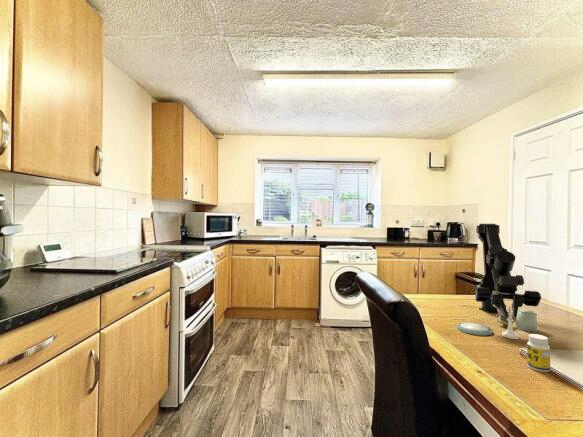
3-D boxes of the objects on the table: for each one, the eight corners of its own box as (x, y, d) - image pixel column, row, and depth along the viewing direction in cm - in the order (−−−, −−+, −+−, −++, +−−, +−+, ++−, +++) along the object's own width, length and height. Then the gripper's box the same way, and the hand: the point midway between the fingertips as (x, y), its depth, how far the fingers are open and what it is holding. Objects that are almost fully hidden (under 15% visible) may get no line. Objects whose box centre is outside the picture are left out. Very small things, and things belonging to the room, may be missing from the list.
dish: (450, 325, 115) (450, 322, 115) (477, 324, 116) (477, 321, 116) (471, 336, 104) (471, 332, 104) (500, 335, 105) (500, 331, 106)
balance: (492, 314, 129) (492, 301, 129) (505, 316, 127) (505, 303, 127) (497, 326, 114) (497, 311, 114) (512, 328, 112) (512, 313, 112)
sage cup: (512, 326, 114) (511, 308, 114) (526, 325, 115) (526, 308, 115) (526, 332, 108) (525, 313, 109) (541, 331, 109) (541, 312, 109)
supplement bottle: (522, 364, 83) (522, 333, 83) (538, 363, 84) (538, 332, 84) (538, 373, 78) (537, 340, 79) (555, 372, 79) (554, 339, 79)
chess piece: (516, 334, 106) (515, 305, 106) (521, 339, 101) (521, 309, 101) (499, 333, 107) (499, 304, 108) (504, 337, 103) (503, 308, 103)
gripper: (476, 265, 112) (482, 302, 102) (538, 267, 105) (552, 308, 94) (473, 282, 119) (478, 319, 109) (531, 286, 112) (543, 326, 101)
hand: (511, 318), depth 103 cm, fingers closed on chess piece
